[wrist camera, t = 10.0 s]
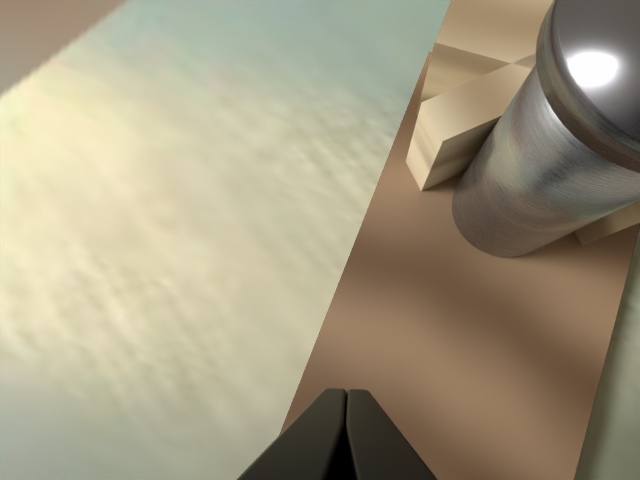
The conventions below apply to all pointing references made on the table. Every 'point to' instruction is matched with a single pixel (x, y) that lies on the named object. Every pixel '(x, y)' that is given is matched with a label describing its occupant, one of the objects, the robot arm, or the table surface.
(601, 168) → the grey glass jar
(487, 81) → the v block
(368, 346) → the board
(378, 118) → the table surface
